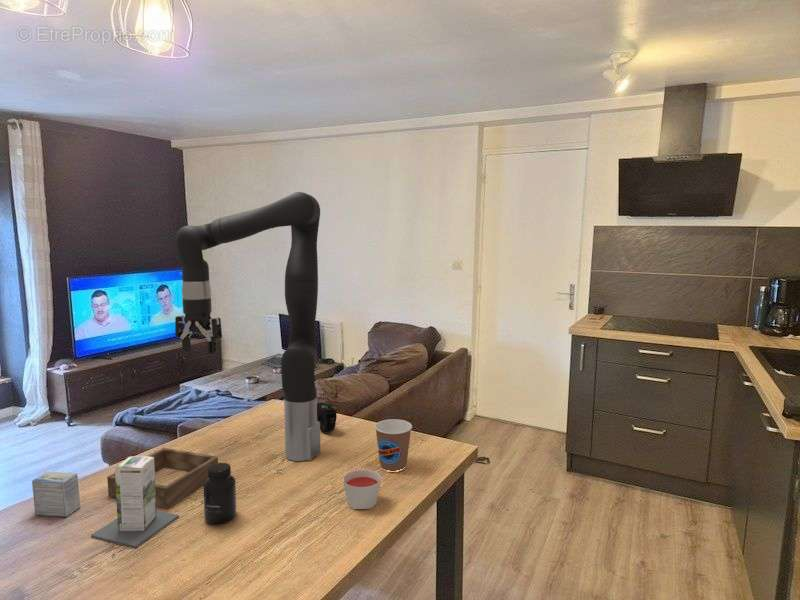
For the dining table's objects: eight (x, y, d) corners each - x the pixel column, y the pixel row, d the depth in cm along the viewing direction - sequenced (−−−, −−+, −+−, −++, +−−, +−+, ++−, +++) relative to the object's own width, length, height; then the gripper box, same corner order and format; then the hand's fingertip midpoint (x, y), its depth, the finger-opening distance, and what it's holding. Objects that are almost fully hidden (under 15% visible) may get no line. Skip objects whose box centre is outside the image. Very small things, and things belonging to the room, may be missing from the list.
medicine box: (81, 507, 116) (78, 472, 115) (66, 518, 112) (63, 481, 111) (50, 505, 117) (47, 470, 116) (34, 516, 113) (31, 480, 112)
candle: (364, 489, 125) (364, 465, 124) (388, 503, 119) (388, 478, 118) (335, 502, 119) (335, 477, 118) (359, 517, 112) (359, 491, 112)
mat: (178, 517, 112) (178, 515, 112) (135, 548, 101) (135, 545, 101) (137, 508, 116) (137, 506, 116) (91, 537, 105) (90, 534, 105)
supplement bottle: (206, 529, 108) (204, 476, 106) (202, 513, 114) (200, 464, 112) (239, 521, 111) (237, 470, 109) (234, 506, 117) (232, 458, 116)
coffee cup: (368, 471, 135) (368, 429, 133) (383, 456, 144) (383, 416, 143) (403, 478, 131) (403, 435, 129) (417, 462, 140) (417, 422, 139)
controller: (326, 438, 157) (326, 407, 156) (311, 425, 168) (311, 397, 166) (339, 435, 160) (338, 405, 158) (323, 423, 170) (323, 395, 169)
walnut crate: (218, 474, 133) (217, 456, 132) (167, 508, 116) (166, 488, 115) (164, 464, 138) (163, 447, 138) (108, 496, 121) (107, 476, 121)
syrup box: (131, 517, 111) (127, 455, 110) (157, 517, 111) (154, 455, 110) (117, 532, 106) (113, 467, 104) (145, 531, 106) (141, 467, 104)
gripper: (226, 296, 142) (228, 351, 144) (185, 294, 146) (188, 348, 148) (208, 299, 135) (211, 357, 137) (166, 297, 139) (169, 353, 141)
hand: (199, 352), depth 143 cm, fingers open, 8 cm apart
